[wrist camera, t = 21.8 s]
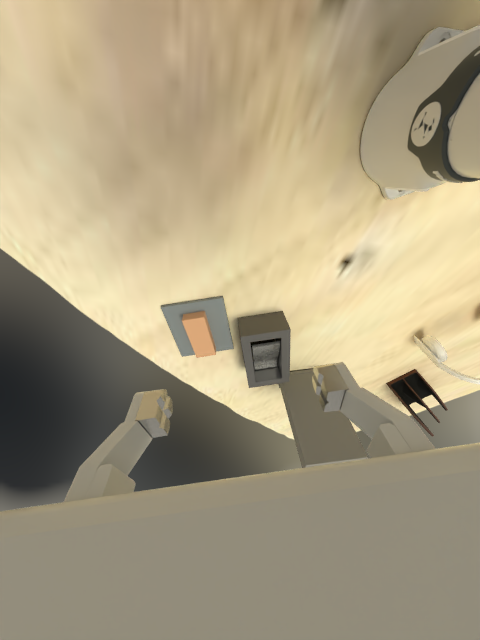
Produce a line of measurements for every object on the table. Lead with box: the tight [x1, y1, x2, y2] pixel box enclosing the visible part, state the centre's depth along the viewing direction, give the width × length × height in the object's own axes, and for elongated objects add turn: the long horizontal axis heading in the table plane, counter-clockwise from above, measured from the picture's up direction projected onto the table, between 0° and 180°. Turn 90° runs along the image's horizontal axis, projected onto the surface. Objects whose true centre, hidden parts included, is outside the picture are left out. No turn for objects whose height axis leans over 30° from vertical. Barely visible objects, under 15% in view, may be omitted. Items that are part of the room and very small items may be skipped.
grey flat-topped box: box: [279, 369, 368, 468], centre depth 57 cm, size 14×6×25 cm, turn 95°
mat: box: [161, 296, 234, 357], centre depth 52 cm, size 14×16×1 cm
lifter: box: [252, 341, 280, 370], centre depth 53 cm, size 13×6×2 cm, turn 7°
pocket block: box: [238, 311, 290, 388], centre depth 54 cm, size 19×11×7 cm, turn 7°
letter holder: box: [387, 369, 447, 436], centre depth 71 cm, size 10×20×14 cm, turn 44°
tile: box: [182, 311, 216, 358], centre depth 51 cm, size 12×5×2 cm, turn 9°
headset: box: [413, 335, 480, 384], centre depth 51 cm, size 20×7×18 cm, turn 121°
